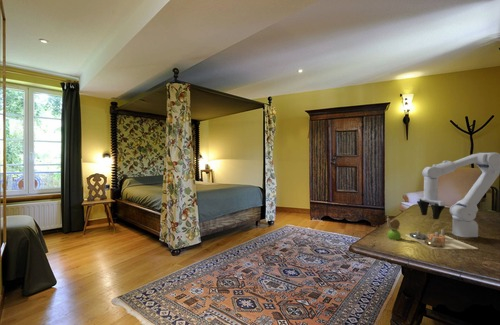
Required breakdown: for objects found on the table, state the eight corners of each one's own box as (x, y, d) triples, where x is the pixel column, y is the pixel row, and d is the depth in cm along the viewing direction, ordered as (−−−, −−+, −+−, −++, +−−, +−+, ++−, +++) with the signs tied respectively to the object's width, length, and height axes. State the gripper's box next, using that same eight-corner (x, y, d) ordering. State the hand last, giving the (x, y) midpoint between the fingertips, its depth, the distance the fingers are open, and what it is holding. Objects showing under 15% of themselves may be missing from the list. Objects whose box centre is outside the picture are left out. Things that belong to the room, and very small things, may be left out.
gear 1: (420, 234, 118) (420, 232, 118) (431, 239, 111) (431, 237, 111) (406, 234, 118) (406, 232, 118) (416, 239, 111) (416, 237, 111)
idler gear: (437, 238, 113) (438, 233, 113) (448, 243, 107) (448, 237, 107) (425, 238, 113) (425, 233, 113) (435, 243, 107) (435, 237, 107)
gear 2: (435, 241, 109) (435, 238, 109) (448, 247, 102) (449, 244, 102) (420, 241, 108) (420, 238, 108) (432, 247, 101) (432, 244, 101)
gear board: (443, 236, 119) (443, 226, 119) (478, 251, 101) (478, 239, 101) (403, 236, 118) (404, 226, 118) (432, 251, 100) (432, 239, 100)
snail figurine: (382, 239, 115) (383, 214, 115) (395, 238, 116) (395, 214, 115) (390, 243, 110) (390, 217, 109) (403, 242, 110) (404, 217, 110)
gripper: (412, 188, 128) (412, 213, 128) (434, 192, 113) (433, 220, 114) (425, 188, 128) (424, 213, 128) (448, 192, 113) (447, 220, 114)
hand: (429, 217), depth 121 cm, fingers open, 7 cm apart
